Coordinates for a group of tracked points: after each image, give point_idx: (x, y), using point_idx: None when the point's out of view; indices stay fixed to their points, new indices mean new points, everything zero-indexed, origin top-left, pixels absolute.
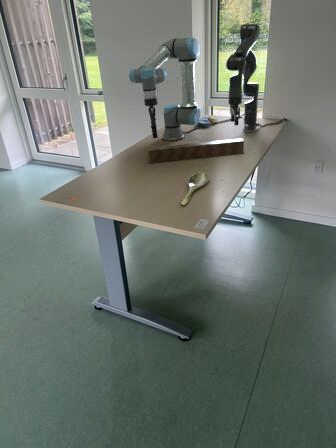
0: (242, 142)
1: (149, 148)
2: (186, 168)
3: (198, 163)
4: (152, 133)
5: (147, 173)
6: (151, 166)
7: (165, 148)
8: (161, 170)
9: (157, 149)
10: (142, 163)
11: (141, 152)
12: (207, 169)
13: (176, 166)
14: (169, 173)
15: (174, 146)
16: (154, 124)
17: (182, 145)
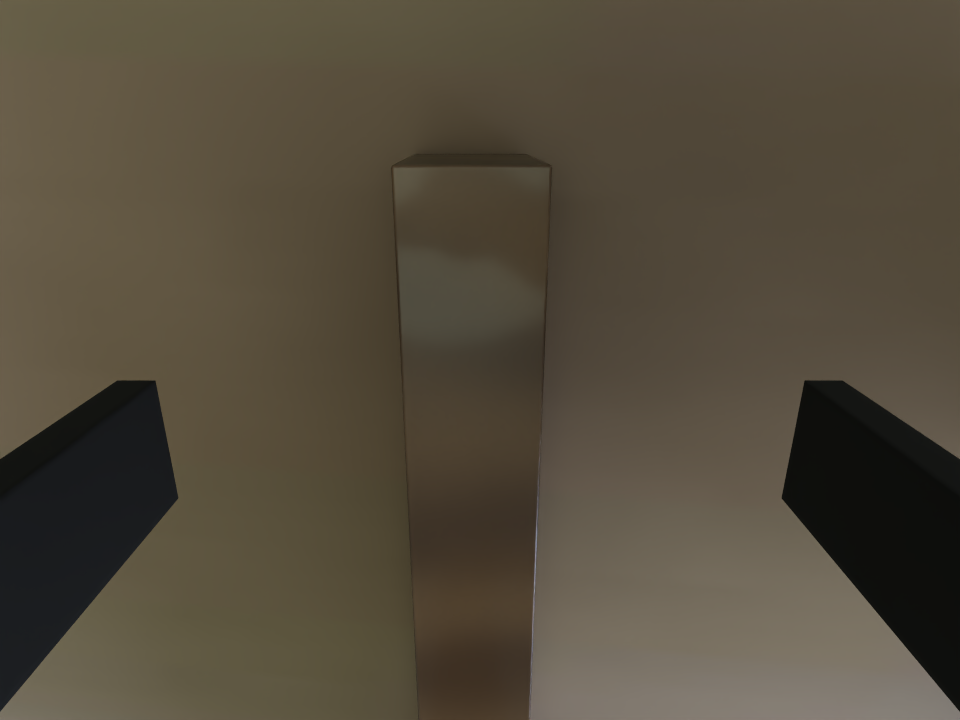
0: None
1: (513, 195)
2: (167, 558)
3: (289, 666)
4: (10, 454)
5: (35, 108)
6: (290, 176)
7: (423, 466)
8: (131, 300)
9: (410, 339)
10: (440, 39)
11: (947, 32)
12: (122, 712)
13: (240, 472)
14: (30, 384)
15: (478, 590)
16: (924, 618)
17: (487, 682)
